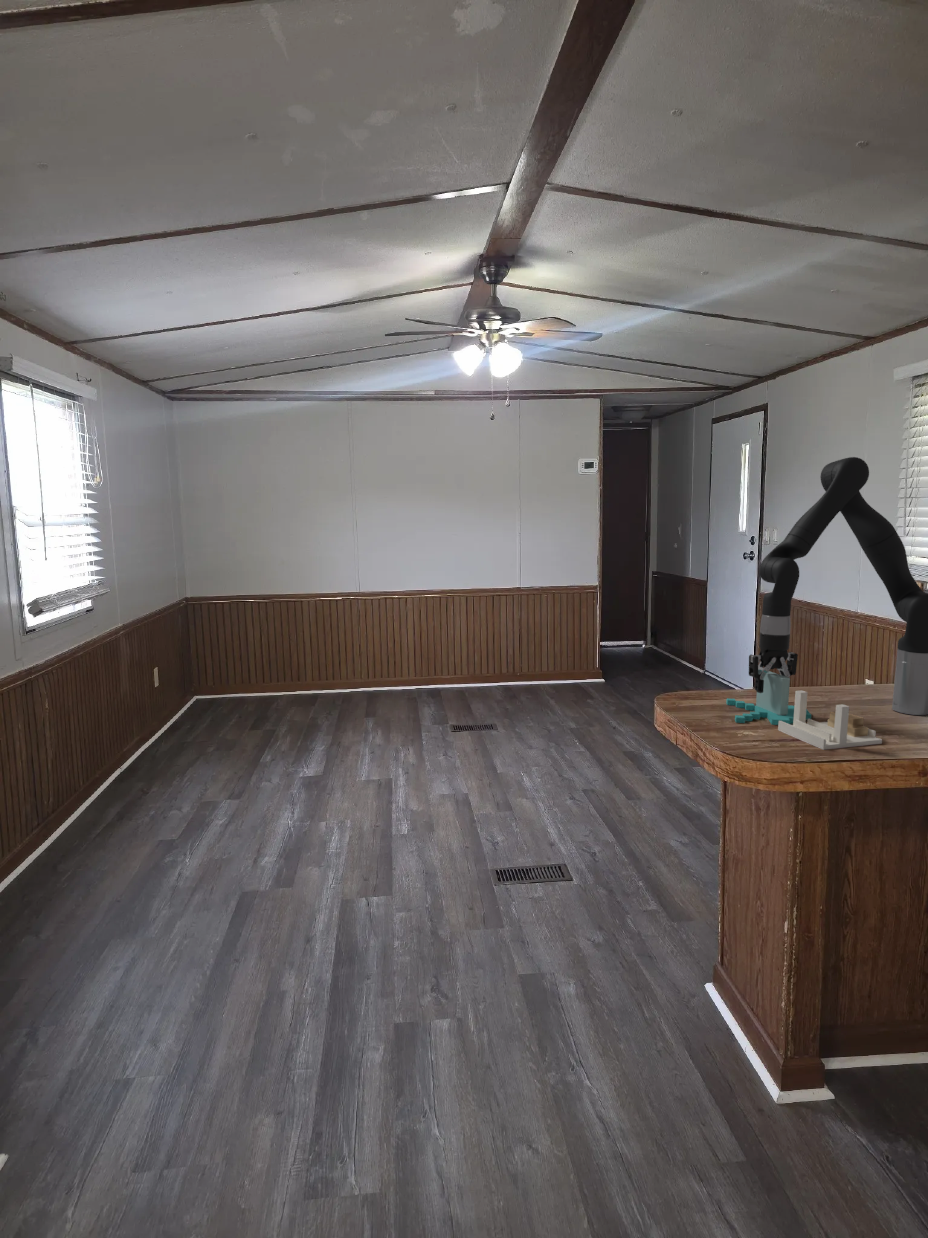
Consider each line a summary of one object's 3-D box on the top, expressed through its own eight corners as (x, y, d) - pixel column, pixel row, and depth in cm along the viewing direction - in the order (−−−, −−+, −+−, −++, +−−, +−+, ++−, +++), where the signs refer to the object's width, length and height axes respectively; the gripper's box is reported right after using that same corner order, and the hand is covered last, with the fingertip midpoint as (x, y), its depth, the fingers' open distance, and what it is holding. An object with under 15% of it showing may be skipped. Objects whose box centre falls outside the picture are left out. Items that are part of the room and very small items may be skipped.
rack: (833, 725, 201) (836, 687, 200) (881, 743, 186) (885, 703, 184) (777, 730, 196) (780, 692, 195) (823, 749, 181) (826, 708, 180)
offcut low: (840, 725, 197) (840, 717, 197) (867, 735, 189) (868, 727, 189) (827, 726, 196) (827, 719, 196) (854, 737, 188) (854, 729, 187)
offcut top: (839, 718, 197) (840, 710, 196) (863, 725, 190) (864, 717, 190) (829, 719, 195) (830, 712, 195) (852, 727, 189) (853, 719, 189)
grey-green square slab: (763, 704, 215) (765, 669, 214) (787, 714, 206) (790, 678, 204) (755, 705, 215) (758, 670, 213) (780, 715, 205) (782, 678, 204)
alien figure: (735, 725, 203) (816, 730, 199) (736, 717, 203) (817, 721, 199) (726, 705, 223) (799, 709, 219) (726, 698, 222) (800, 702, 218)
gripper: (788, 628, 213) (784, 686, 215) (743, 630, 209) (739, 690, 211) (807, 632, 206) (802, 693, 208) (761, 635, 202) (757, 696, 204)
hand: (771, 691), depth 210 cm, fingers open, 7 cm apart
